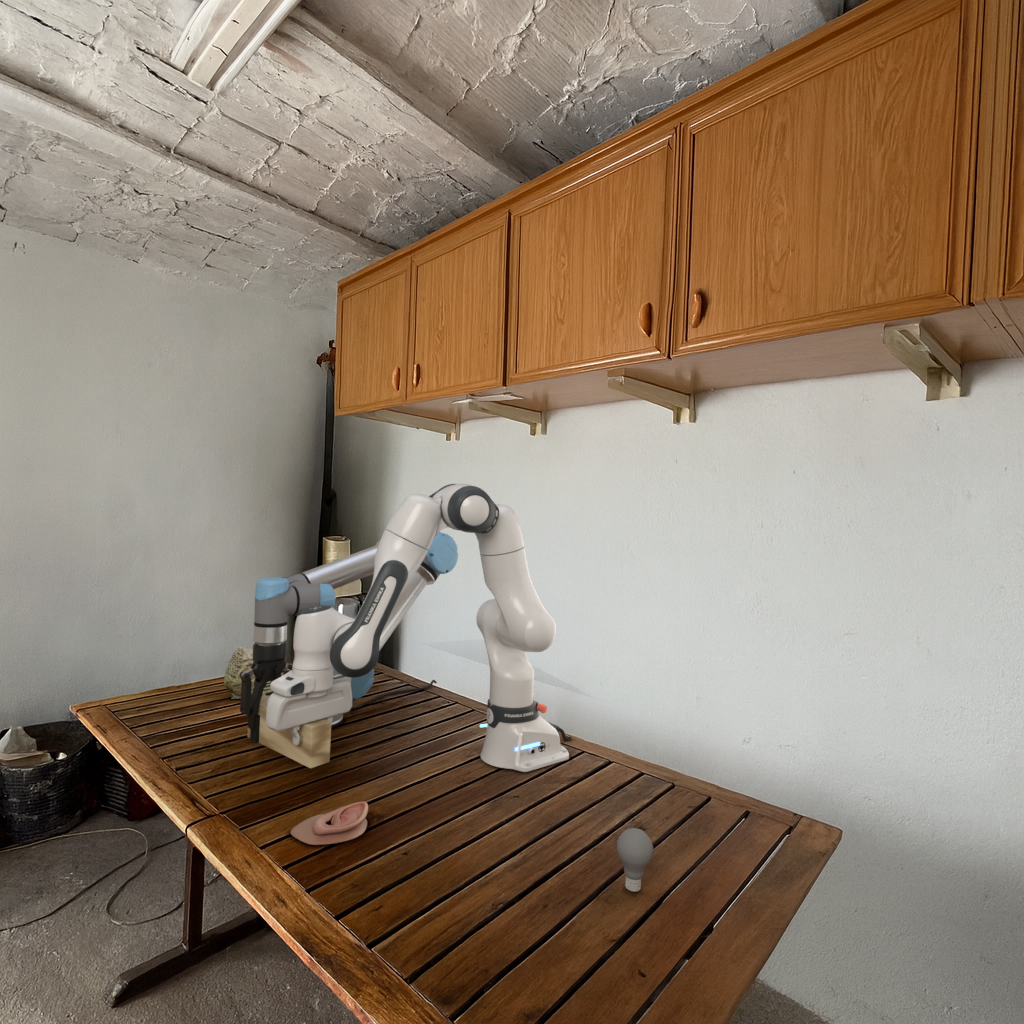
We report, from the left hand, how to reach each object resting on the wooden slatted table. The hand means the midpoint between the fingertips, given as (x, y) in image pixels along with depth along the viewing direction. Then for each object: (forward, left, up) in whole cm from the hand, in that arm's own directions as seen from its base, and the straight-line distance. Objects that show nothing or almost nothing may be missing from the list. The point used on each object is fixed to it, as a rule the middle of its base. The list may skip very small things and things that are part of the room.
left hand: (265, 738), depth 153 cm
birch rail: (0, +9, 0) cm, 9 cm away
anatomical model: (+10, +40, -4) cm, 41 cm away
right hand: (0, +18, +4) cm, 19 cm away
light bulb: (-13, +92, -4) cm, 93 cm away
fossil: (-22, -44, -4) cm, 50 cm away
